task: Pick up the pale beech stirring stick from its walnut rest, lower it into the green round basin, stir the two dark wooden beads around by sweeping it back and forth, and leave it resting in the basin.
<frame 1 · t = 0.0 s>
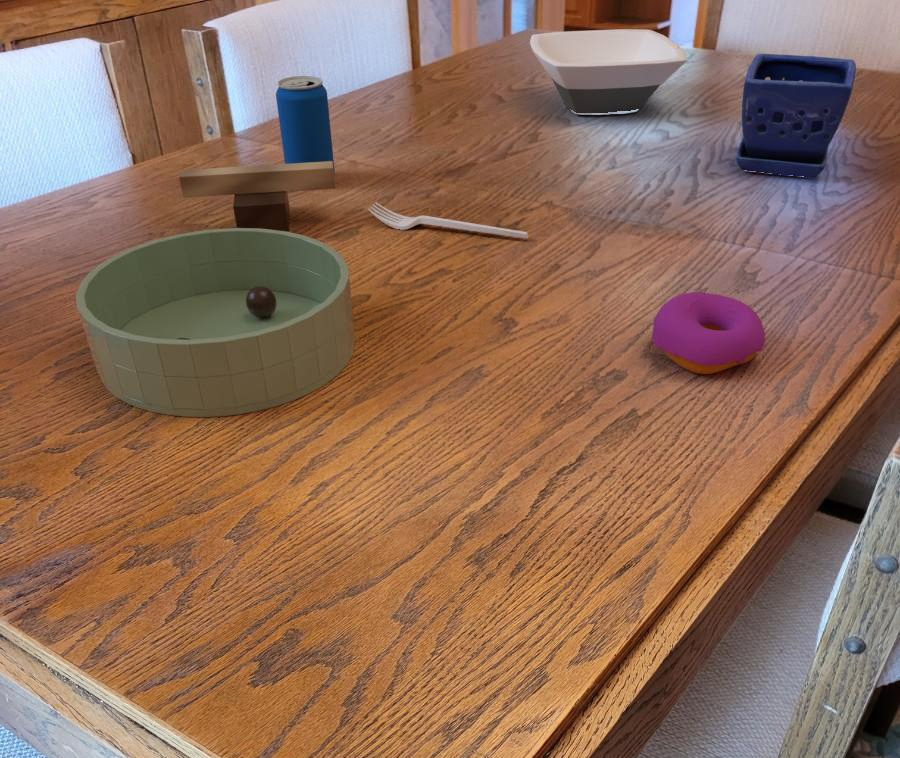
flower pot: (779, 167, 124), on the table
green round basin: (228, 349, 88), on the table
bowl: (600, 107, 145), on the table
beverage can: (311, 182, 122), on the table
donut: (702, 354, 86), on the table
bead a: (261, 302, 90), point 2 cm above the table, touching green round basin
fork: (448, 232, 109), on the table
bead b: (184, 354, 82), point 2 cm above the table, touching green round basin
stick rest: (265, 223, 111), on the table
stirring stick: (259, 189, 108), point 4 cm above the table, touching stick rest
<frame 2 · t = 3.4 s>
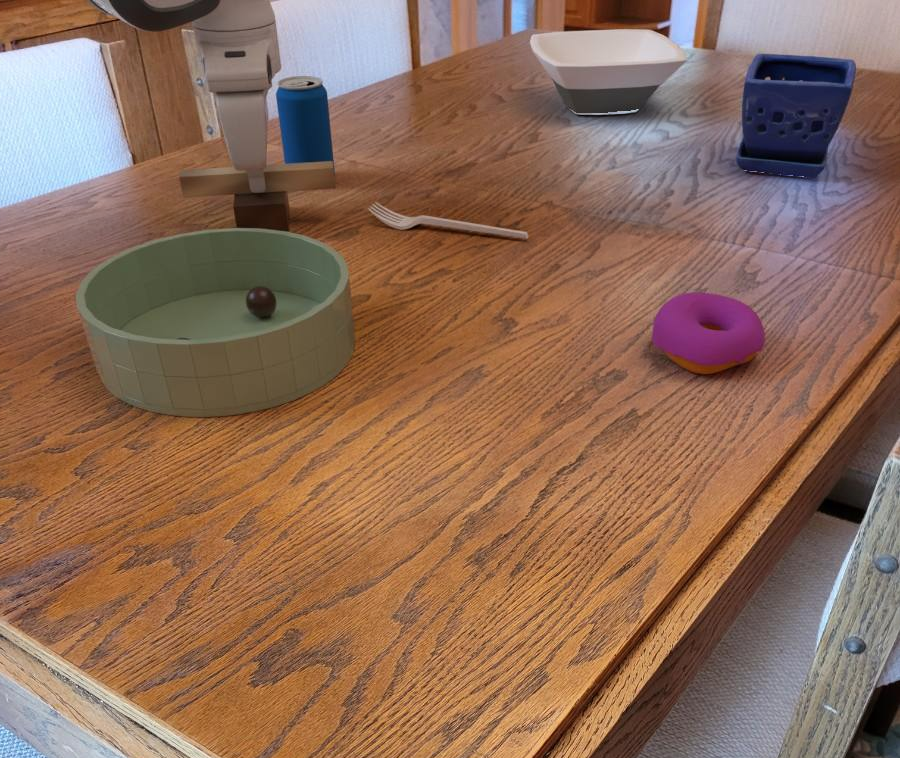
hand: (259, 185, 108), 5 cm above the table, tool pointing down, fingers closed on stirring stick, 2 cm apart
stirring stick: (259, 189, 108), point 4 cm above the table, touching gripper, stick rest
everything else where it was.
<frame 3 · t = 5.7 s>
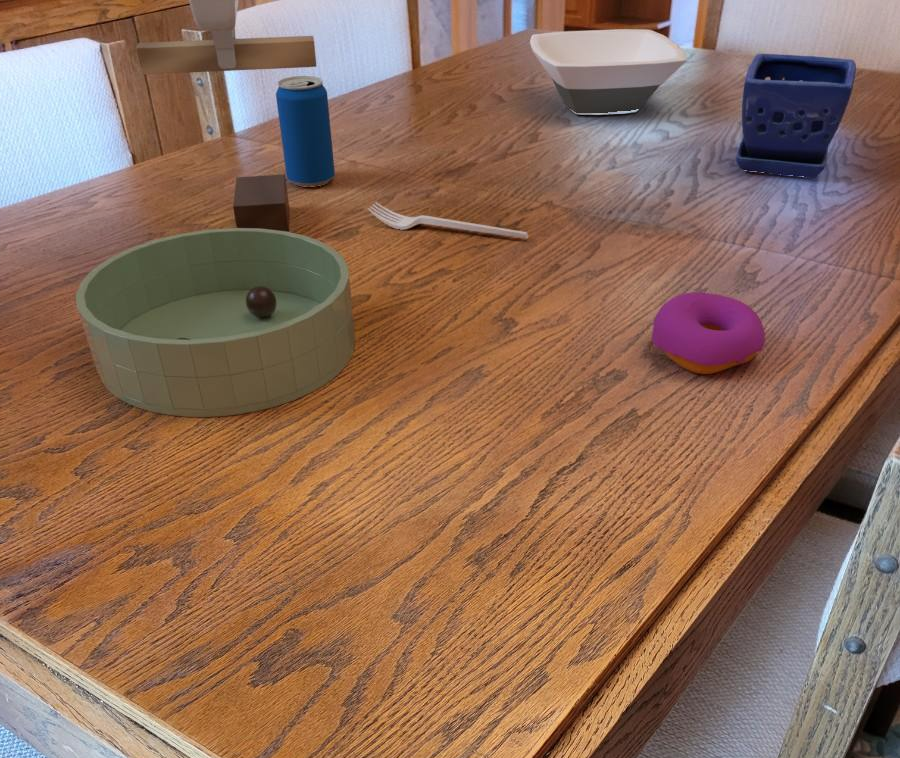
hand: (228, 62, 94), 19 cm above the table, tool pointing down, fingers closed on stirring stick, 2 cm apart
stirring stick: (230, 68, 95), point 18 cm above the table, touching gripper
everything else where it was.
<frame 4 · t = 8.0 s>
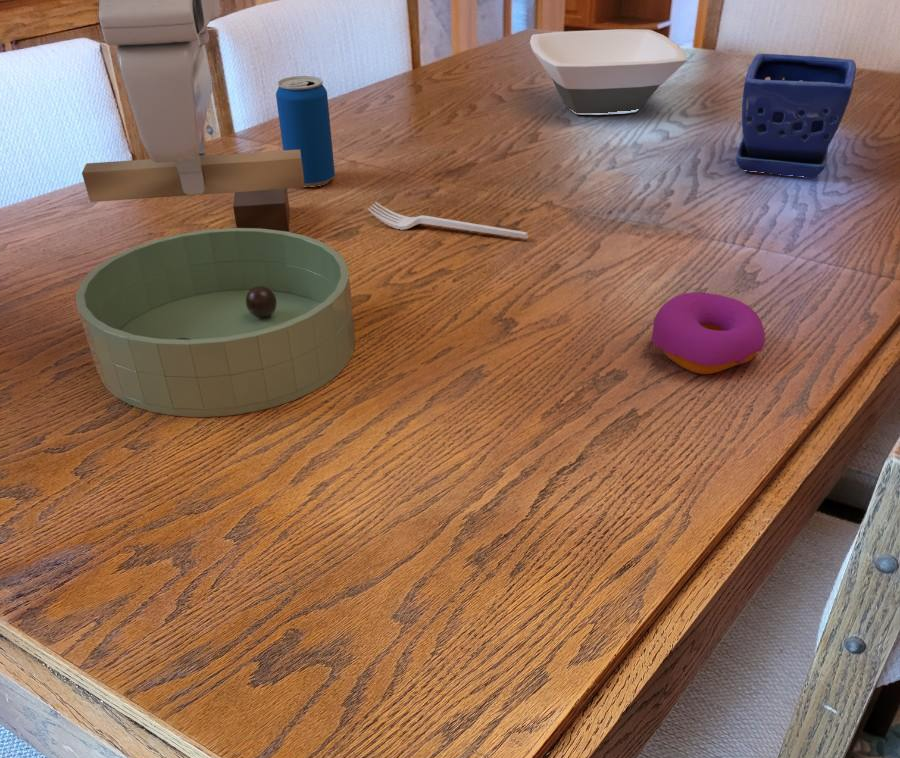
hand: (197, 184, 77), 15 cm above the table, tool pointing down, fingers closed on stirring stick, 2 cm apart
stirring stick: (199, 190, 77), point 15 cm above the table, touching gripper
everything else where it was.
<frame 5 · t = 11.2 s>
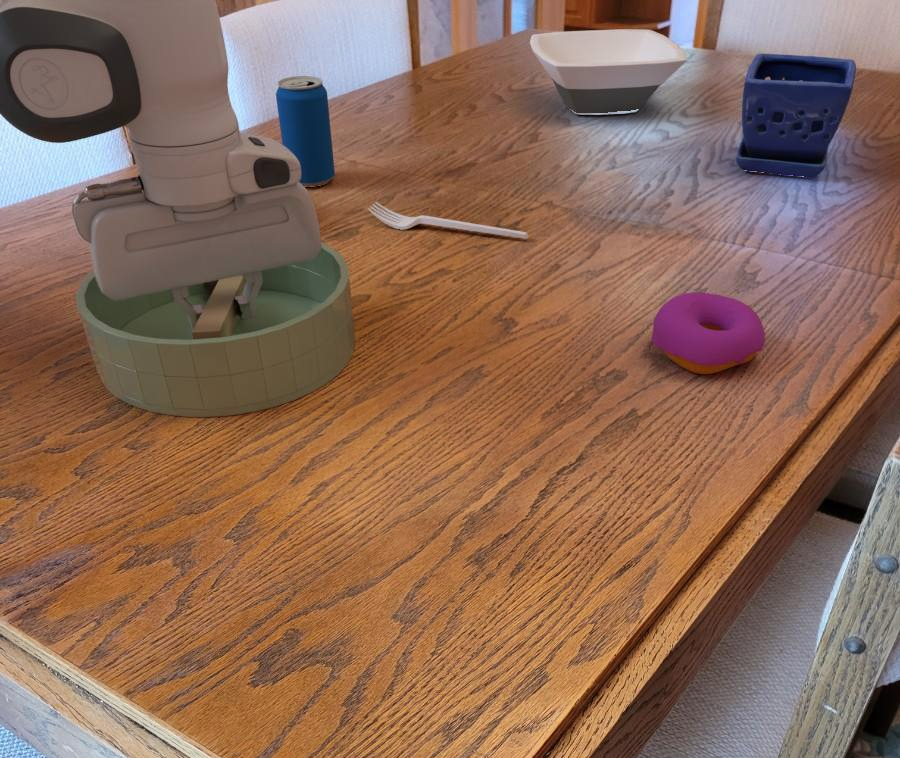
hand: (224, 321, 85), 3 cm above the table, tool pointing down, fingers closed on stirring stick, 3 cm apart
bead a: (217, 283, 93), point 2 cm above the table, tilted 123°, touching green round basin
bead b: (239, 368, 80), point 2 cm above the table, tilted 120°, touching green round basin
stirring stick: (224, 326, 85), point 3 cm above the table, tilted 9°, touching gripper
everything else where it was.
when the fingers open (2 cm above the table, at t = 12.6 s): stirring stick drops 1 cm, resting on green round basin.
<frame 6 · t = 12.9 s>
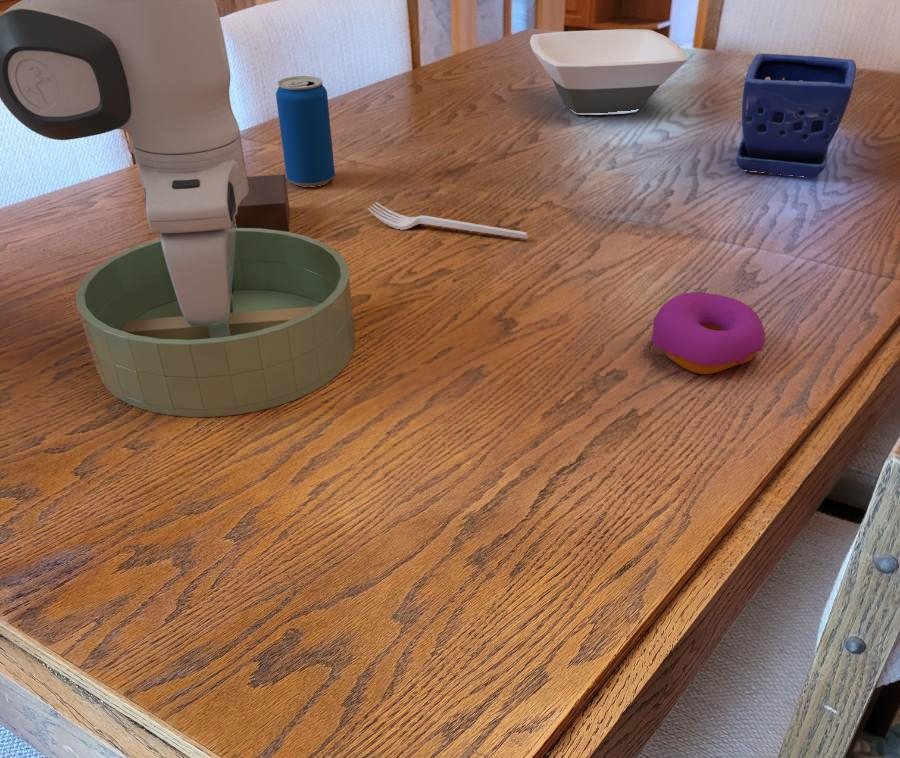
hand: (223, 326, 86), 2 cm above the table, tool pointing down, fingers open, 5 cm apart
bead a: (219, 286, 93), point 2 cm above the table, tilted 154°, touching green round basin
bead b: (194, 370, 80), point 2 cm above the table, tilted 110°, touching green round basin
stirring stick: (226, 342, 87), point 1 cm above the table, touching green round basin
everything else where it was.
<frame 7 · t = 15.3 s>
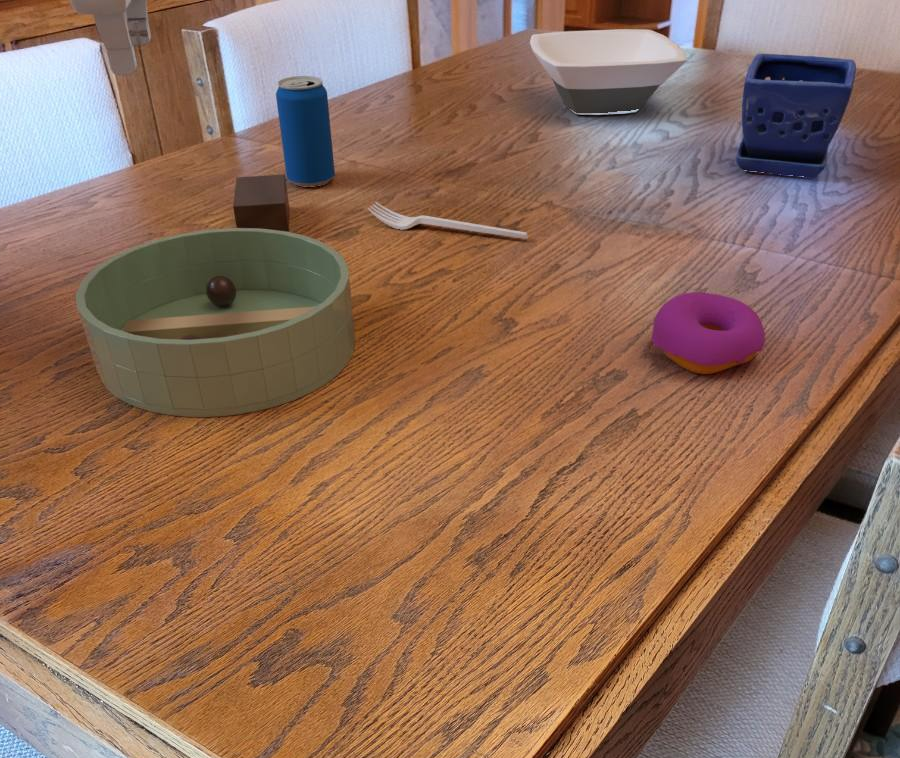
hand: (133, 57, 72), 24 cm above the table, tool pointing down, fingers open, 8 cm apart
bead a: (221, 291, 92), point 2 cm above the table, tilted 159°, touching green round basin
bead b: (191, 351, 83), point 2 cm above the table, tilted 83°, touching green round basin
everything else where it was.
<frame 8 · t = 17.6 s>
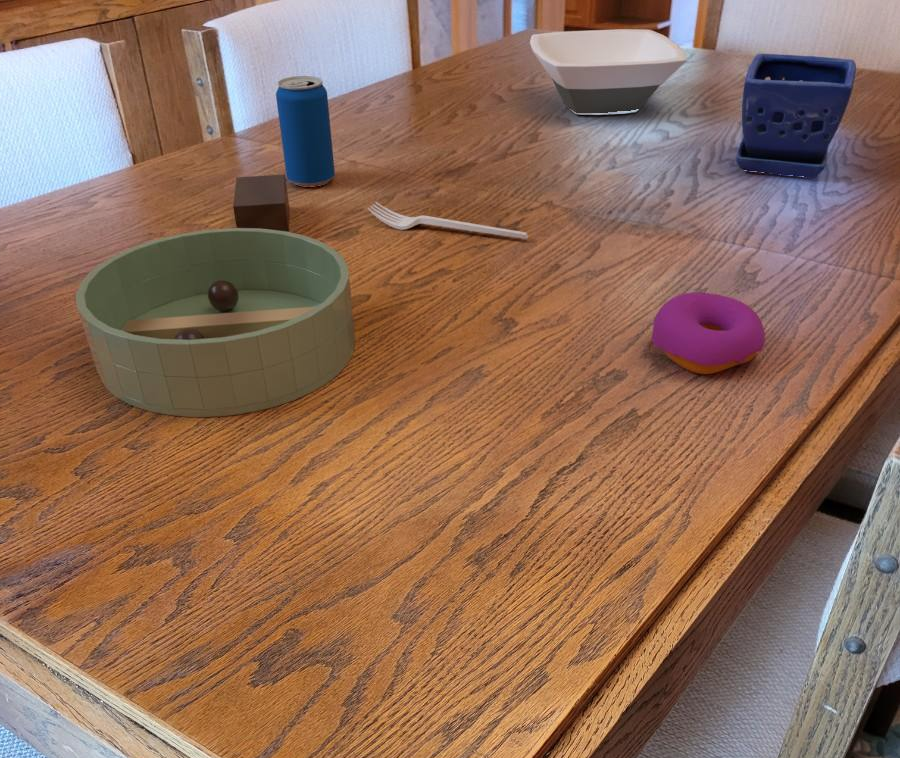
bead a: (223, 295, 91), point 2 cm above the table, tilted 117°, touching green round basin
bead b: (190, 345, 83), point 2 cm above the table, tilted 66°, touching green round basin
everything else where it was.
at the end: bead a moved 4.3 cm from its start; stirring stick inside the target area in the green round basin (0.1 cm from its centre), point 0.8 cm above the green round basin's base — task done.
